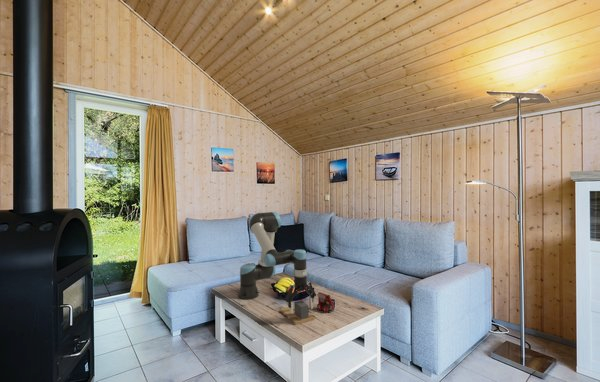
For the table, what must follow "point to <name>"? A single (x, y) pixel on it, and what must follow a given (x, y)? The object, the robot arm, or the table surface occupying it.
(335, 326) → the table surface
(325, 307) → the toy fire truck
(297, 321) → the board
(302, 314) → the block
